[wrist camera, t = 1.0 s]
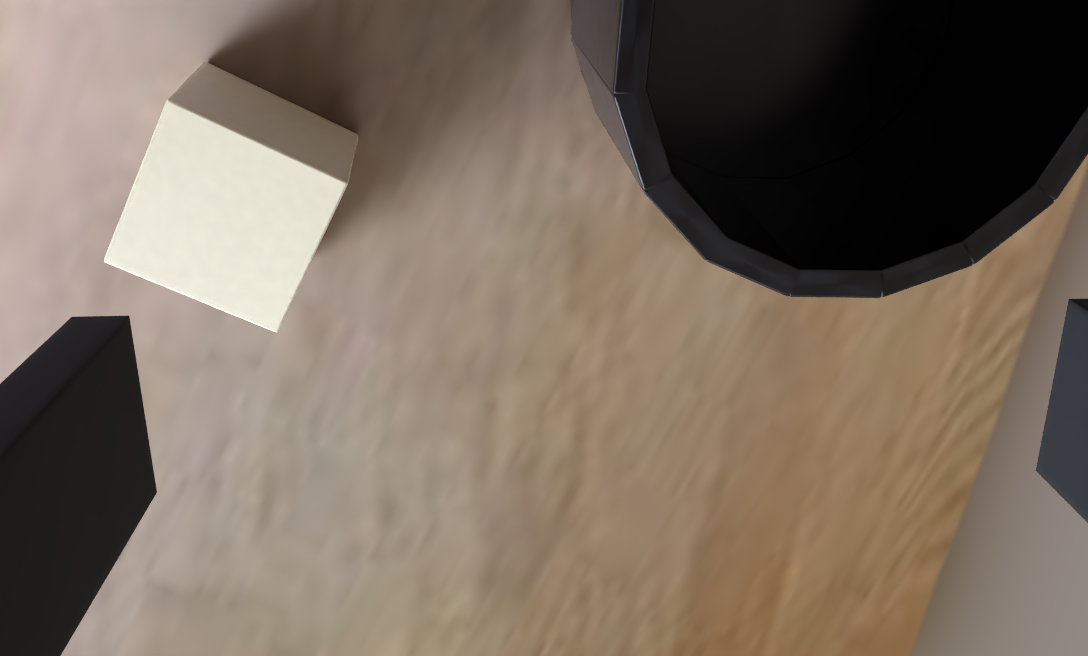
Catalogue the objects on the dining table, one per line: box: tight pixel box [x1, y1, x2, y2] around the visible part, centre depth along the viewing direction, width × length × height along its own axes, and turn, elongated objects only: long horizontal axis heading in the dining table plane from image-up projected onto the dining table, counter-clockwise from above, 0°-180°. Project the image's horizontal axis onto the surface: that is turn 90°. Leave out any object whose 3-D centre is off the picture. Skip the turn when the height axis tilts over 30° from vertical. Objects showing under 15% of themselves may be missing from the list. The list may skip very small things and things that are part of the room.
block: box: [104, 62, 359, 332], centre depth 30 cm, size 5×5×5 cm
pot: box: [571, 0, 1088, 298], centre depth 28 cm, size 13×13×8 cm
